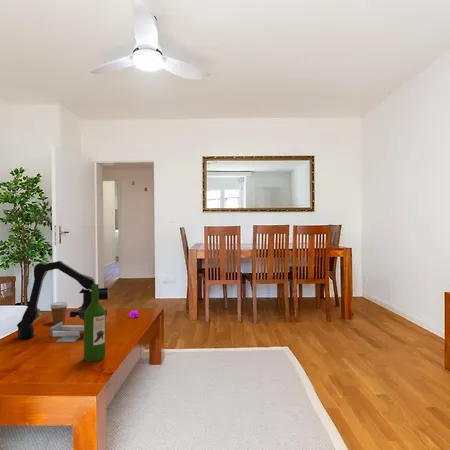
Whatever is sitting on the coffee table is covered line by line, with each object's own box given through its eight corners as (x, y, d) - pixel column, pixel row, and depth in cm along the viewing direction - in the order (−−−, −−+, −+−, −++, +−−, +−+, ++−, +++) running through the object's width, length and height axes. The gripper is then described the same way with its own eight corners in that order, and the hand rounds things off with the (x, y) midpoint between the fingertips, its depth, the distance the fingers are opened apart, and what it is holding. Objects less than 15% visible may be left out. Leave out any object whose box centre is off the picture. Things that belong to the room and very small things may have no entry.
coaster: (55, 342, 172) (55, 341, 172) (63, 337, 181) (63, 335, 181) (73, 342, 172) (73, 341, 172) (80, 337, 181) (80, 335, 181)
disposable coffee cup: (46, 324, 205) (46, 304, 205) (59, 320, 214) (59, 301, 214) (58, 326, 201) (58, 305, 202) (71, 322, 210) (71, 302, 210)
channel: (50, 336, 182) (50, 328, 182) (60, 330, 193) (60, 322, 193) (78, 336, 182) (78, 328, 182) (87, 330, 193) (87, 322, 193)
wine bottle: (92, 363, 145) (92, 287, 146) (79, 359, 150) (79, 285, 151) (109, 356, 153) (110, 284, 153) (96, 353, 158) (97, 282, 158)
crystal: (129, 317, 222) (129, 310, 222) (138, 316, 224) (138, 309, 224) (130, 319, 217) (130, 311, 217) (138, 318, 219) (139, 311, 219)
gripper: (64, 303, 180) (64, 333, 180) (100, 304, 180) (100, 333, 180) (74, 299, 191) (73, 327, 191) (107, 299, 191) (107, 327, 191)
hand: (88, 329), depth 188 cm, fingers closed
